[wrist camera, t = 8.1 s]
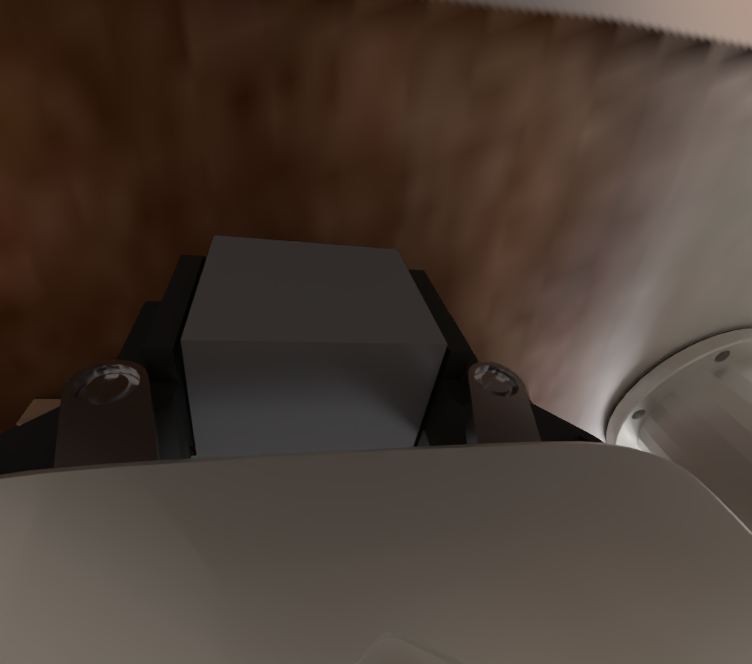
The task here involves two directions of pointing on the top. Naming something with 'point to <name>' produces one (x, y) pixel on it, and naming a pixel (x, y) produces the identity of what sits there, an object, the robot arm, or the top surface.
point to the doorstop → (307, 349)
